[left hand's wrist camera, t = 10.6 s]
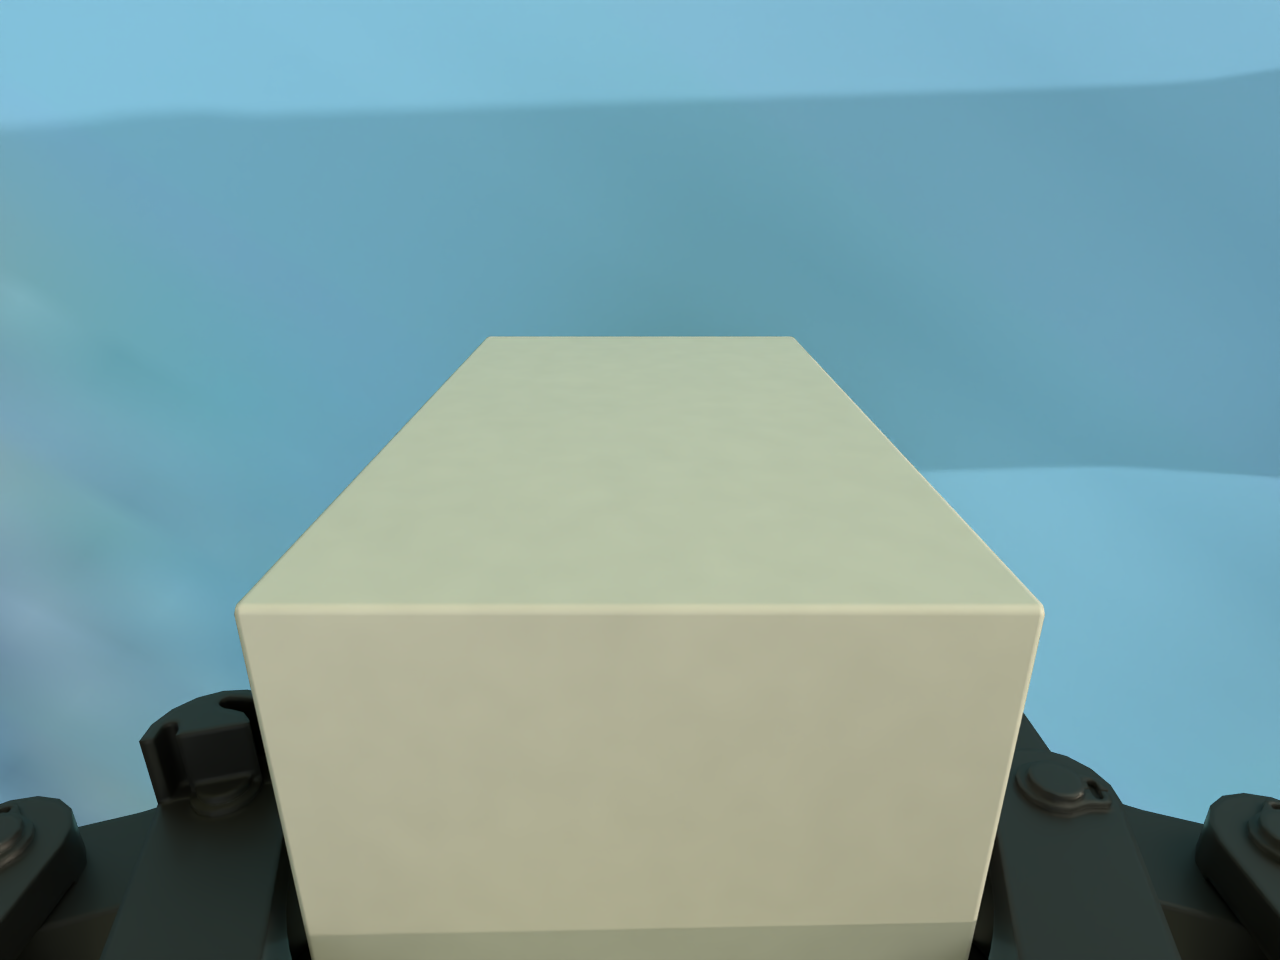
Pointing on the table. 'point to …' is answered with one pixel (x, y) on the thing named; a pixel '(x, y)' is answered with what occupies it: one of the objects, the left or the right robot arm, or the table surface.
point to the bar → (639, 672)
